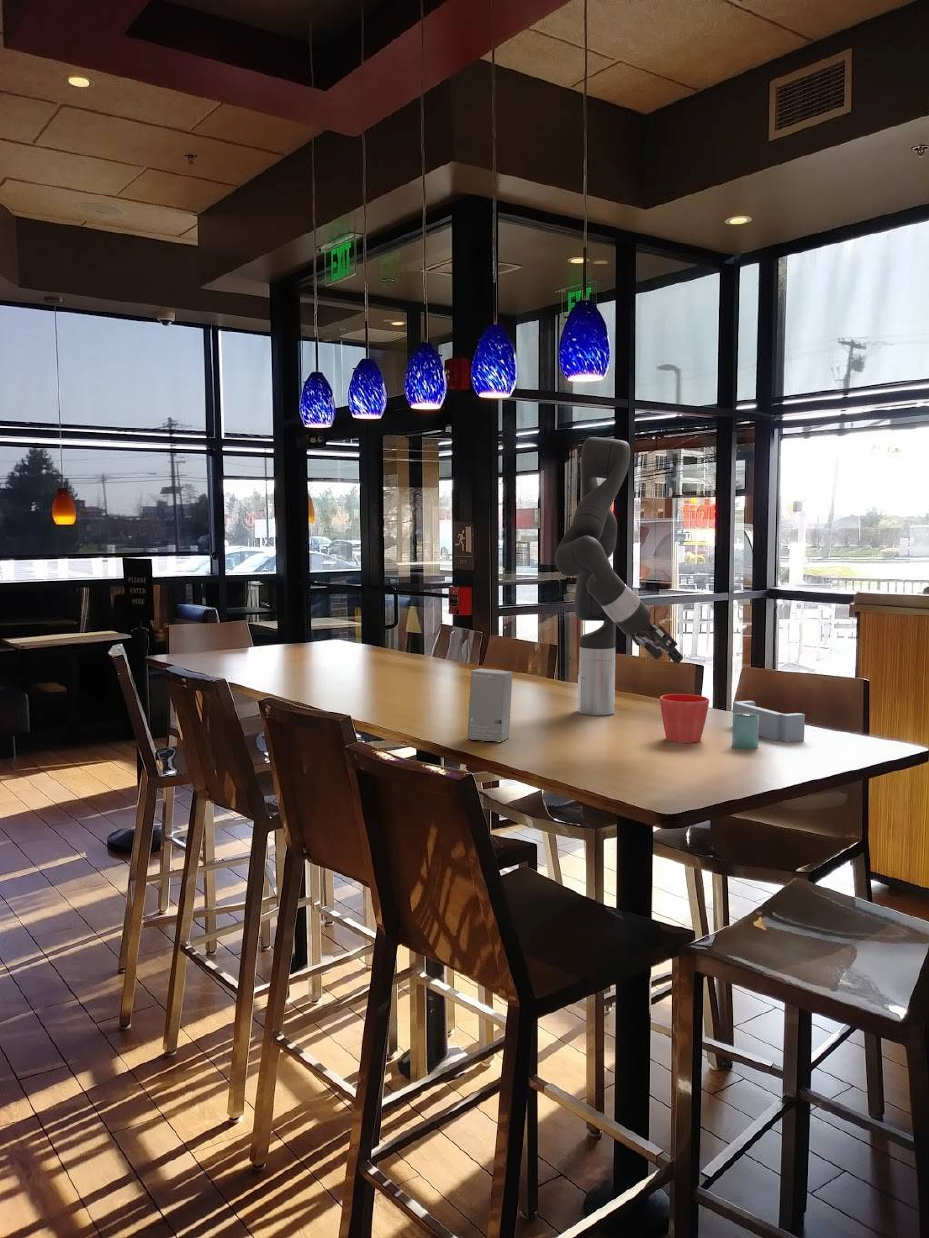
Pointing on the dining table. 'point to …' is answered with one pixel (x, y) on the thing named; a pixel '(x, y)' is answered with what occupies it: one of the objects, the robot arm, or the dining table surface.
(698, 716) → the flower pot
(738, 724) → the tumbler
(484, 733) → the skincare box
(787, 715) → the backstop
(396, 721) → the dining table surface
